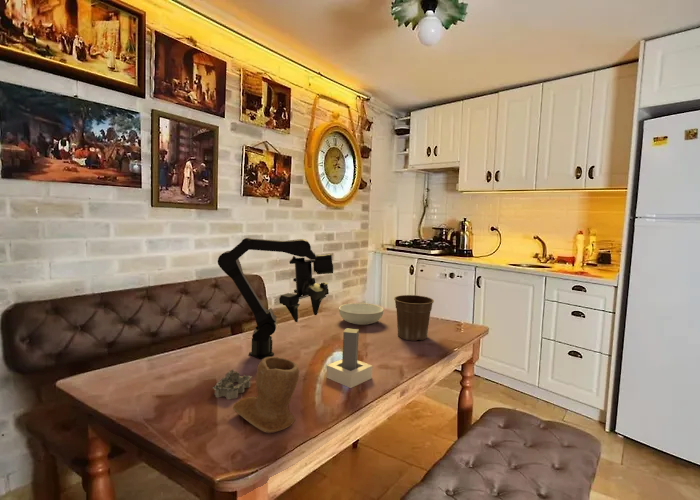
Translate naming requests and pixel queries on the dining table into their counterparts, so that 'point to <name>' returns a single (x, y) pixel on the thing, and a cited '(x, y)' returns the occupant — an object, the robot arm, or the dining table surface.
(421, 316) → the plant pot
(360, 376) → the collar
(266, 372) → the tan boot
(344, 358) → the post
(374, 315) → the serving bowl
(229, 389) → the egg carton
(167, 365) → the dining table surface
